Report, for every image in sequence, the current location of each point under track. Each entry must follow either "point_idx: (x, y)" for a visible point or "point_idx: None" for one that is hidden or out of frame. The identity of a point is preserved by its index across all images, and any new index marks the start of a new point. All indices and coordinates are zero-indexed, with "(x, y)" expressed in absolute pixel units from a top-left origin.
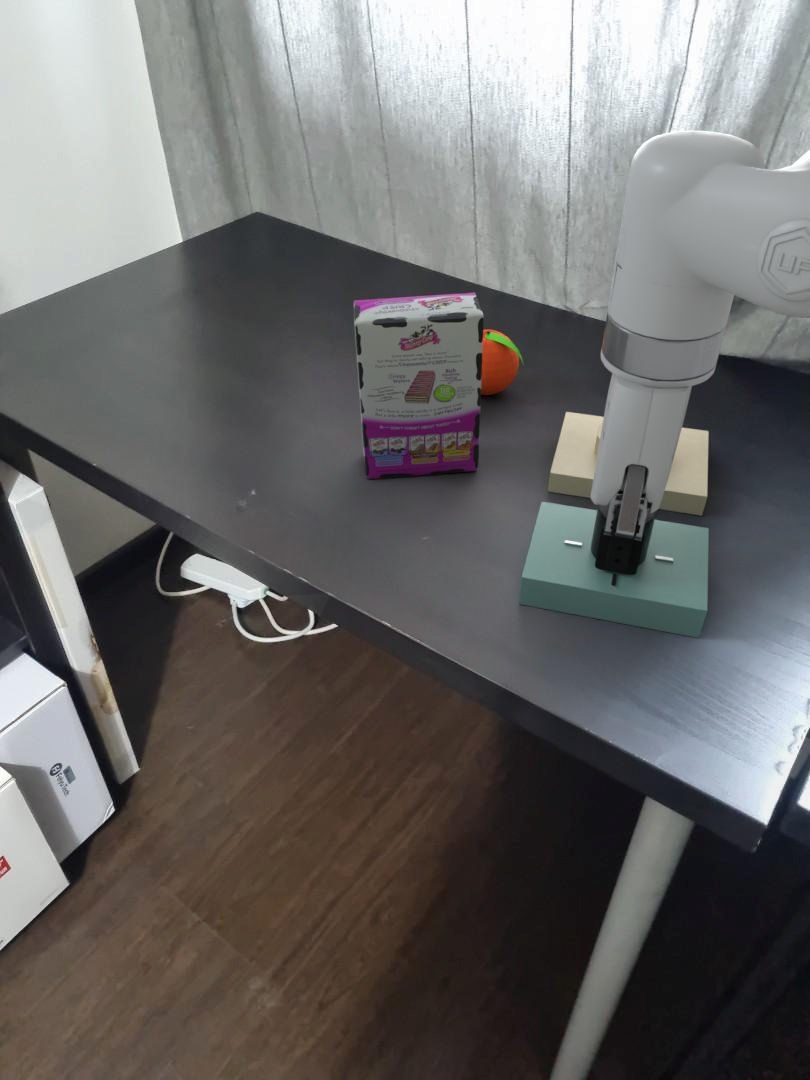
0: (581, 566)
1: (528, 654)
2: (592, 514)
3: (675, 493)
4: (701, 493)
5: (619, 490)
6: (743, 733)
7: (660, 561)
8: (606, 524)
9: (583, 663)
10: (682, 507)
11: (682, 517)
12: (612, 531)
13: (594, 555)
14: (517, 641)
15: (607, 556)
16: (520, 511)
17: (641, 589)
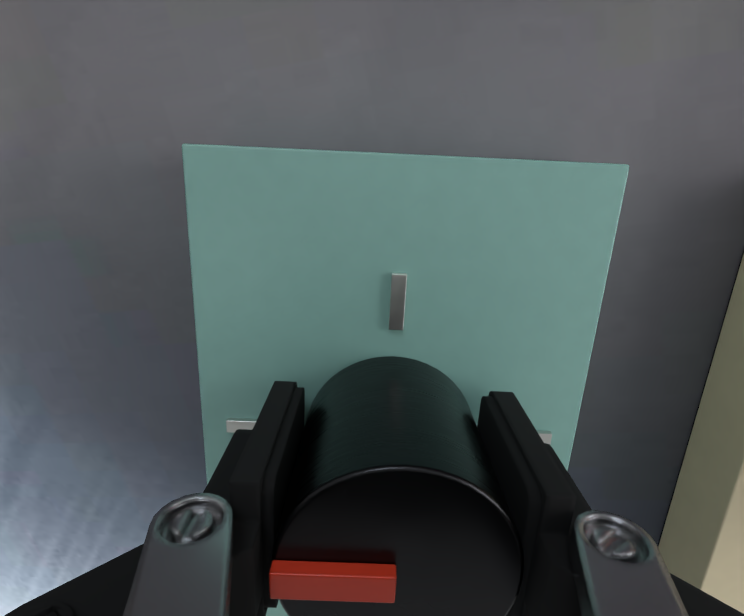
0: (293, 333)
1: (54, 200)
2: (564, 349)
3: (710, 544)
4: None
5: (538, 534)
6: (36, 597)
7: None
8: (141, 553)
9: (81, 331)
10: (675, 532)
11: (647, 521)
12: (89, 582)
13: (340, 372)
14: (86, 164)
15: (225, 450)
16: (656, 93)
17: None
